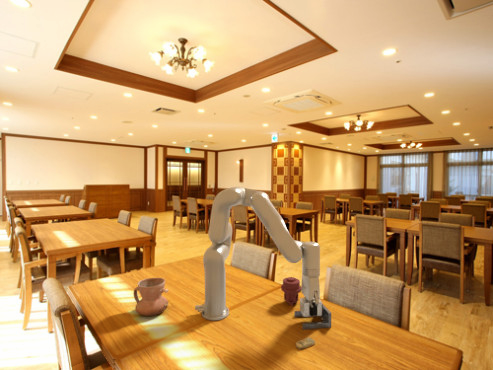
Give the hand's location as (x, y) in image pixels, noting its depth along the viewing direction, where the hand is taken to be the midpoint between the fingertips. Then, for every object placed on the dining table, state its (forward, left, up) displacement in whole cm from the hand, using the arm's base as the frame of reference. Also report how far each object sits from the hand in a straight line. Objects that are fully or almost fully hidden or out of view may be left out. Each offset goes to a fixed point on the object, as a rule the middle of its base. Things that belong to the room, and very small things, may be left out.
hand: (310, 311), depth 116 cm
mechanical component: (-3, +18, -4) cm, 19 cm away
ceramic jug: (-71, +20, -5) cm, 74 cm away
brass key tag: (-8, -15, -4) cm, 18 cm away
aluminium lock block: (0, 0, -1) cm, 1 cm away
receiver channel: (0, 0, -4) cm, 4 cm away
